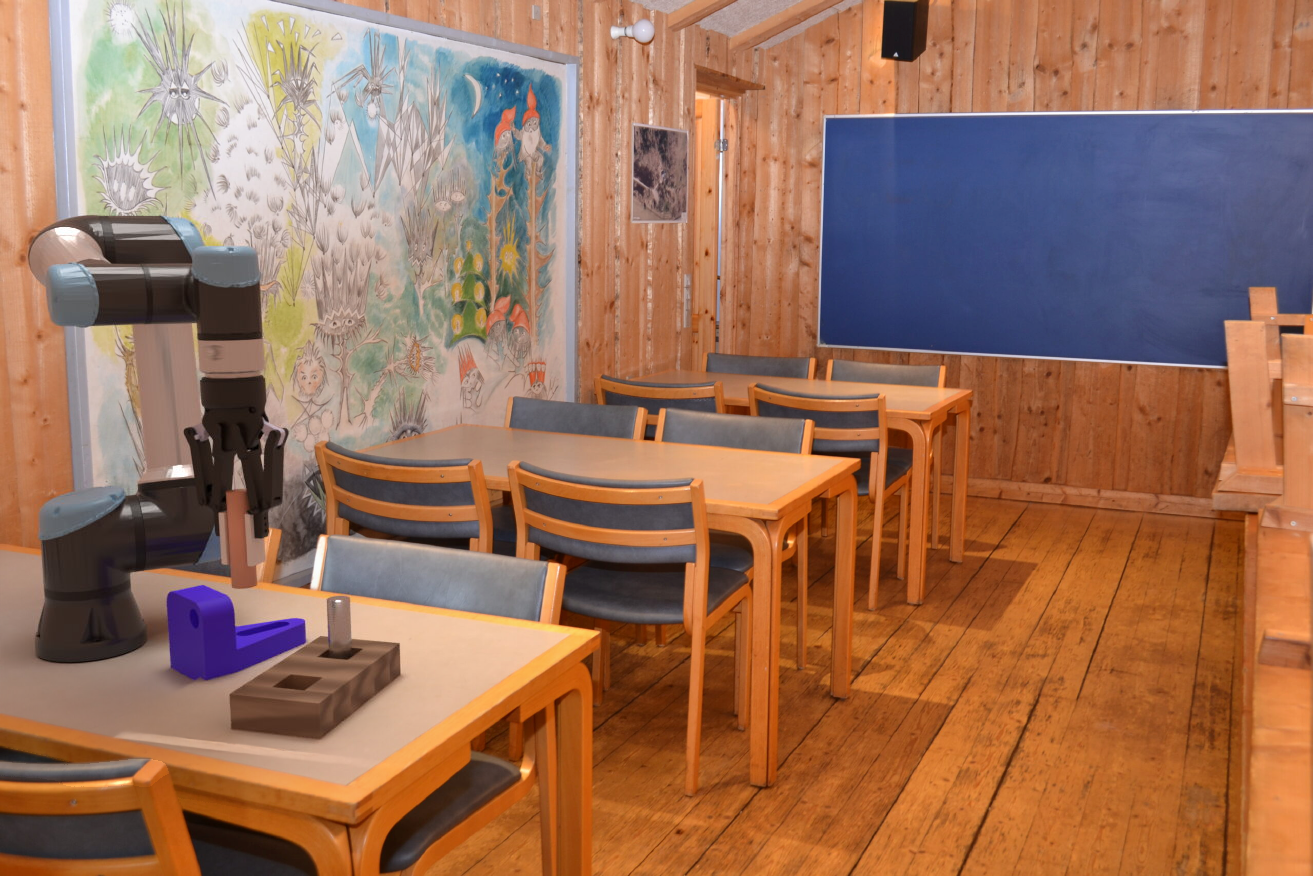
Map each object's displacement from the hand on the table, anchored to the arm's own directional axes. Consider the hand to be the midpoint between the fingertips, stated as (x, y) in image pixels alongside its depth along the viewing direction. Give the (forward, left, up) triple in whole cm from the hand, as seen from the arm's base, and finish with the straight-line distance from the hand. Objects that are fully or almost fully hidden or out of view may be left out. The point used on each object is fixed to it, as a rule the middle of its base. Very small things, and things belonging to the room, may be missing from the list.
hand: (243, 562), depth 145 cm
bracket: (-12, +19, -21) cm, 31 cm away
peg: (0, 0, -3) cm, 3 cm away
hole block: (+7, +6, -21) cm, 22 cm away
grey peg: (+7, +11, -20) cm, 23 cm away
